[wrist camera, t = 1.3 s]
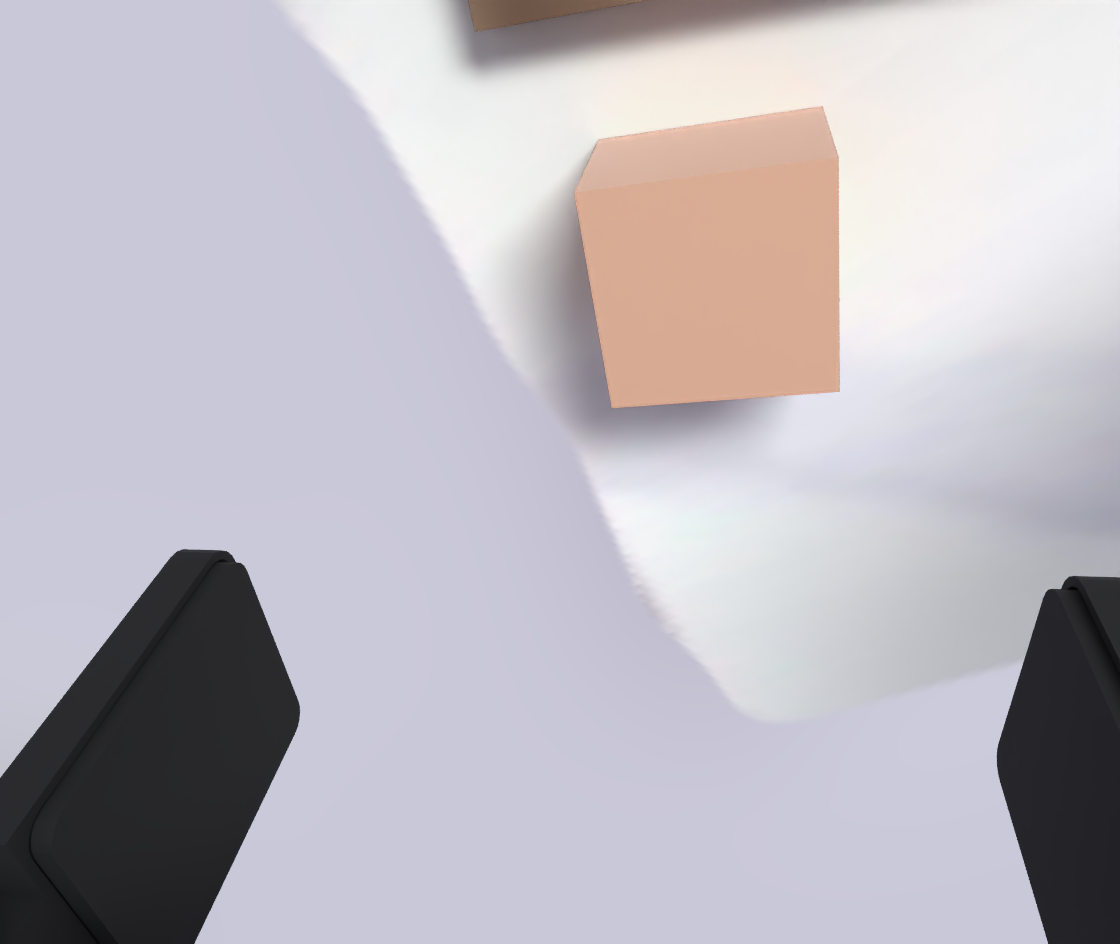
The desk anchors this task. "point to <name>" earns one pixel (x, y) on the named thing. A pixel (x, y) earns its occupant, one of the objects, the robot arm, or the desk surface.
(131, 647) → the robot arm
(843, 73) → the desk surface
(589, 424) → the desk surface
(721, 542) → the desk surface
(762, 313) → the peach tapered block
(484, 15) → the board
